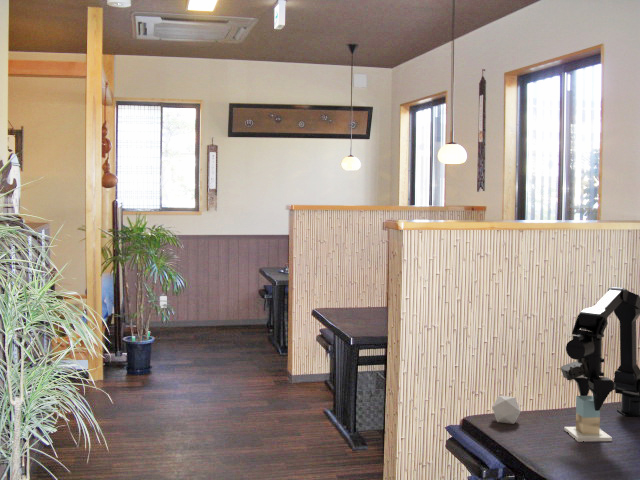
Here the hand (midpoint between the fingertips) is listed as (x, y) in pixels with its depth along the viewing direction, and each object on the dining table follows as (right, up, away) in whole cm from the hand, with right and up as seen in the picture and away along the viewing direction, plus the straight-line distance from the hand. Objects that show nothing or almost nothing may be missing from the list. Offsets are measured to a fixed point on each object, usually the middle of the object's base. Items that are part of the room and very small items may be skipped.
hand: (590, 405), depth 208 cm
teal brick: (-1, -3, 0) cm, 3 cm away
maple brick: (-1, -8, 0) cm, 8 cm away
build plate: (-1, -9, 0) cm, 9 cm away
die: (-21, -8, +13) cm, 26 cm away
